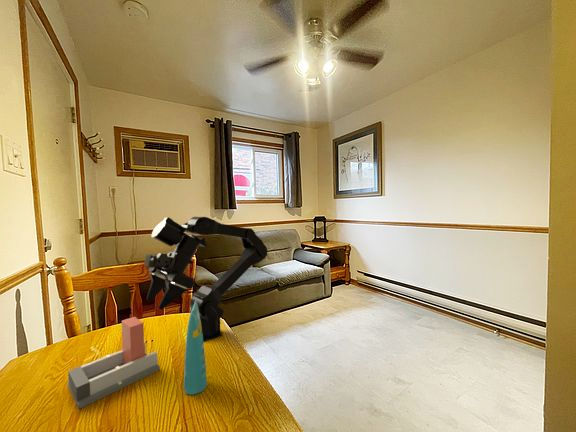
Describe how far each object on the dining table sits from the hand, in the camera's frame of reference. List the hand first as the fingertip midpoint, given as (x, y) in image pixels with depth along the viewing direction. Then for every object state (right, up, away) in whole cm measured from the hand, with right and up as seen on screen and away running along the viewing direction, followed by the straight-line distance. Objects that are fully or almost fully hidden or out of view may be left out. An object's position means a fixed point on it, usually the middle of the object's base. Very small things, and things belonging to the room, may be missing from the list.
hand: (153, 304), depth 68 cm
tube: (+16, -15, -11) cm, 25 cm away
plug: (-3, -14, -5) cm, 15 cm away
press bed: (-5, -15, -8) cm, 18 cm away
